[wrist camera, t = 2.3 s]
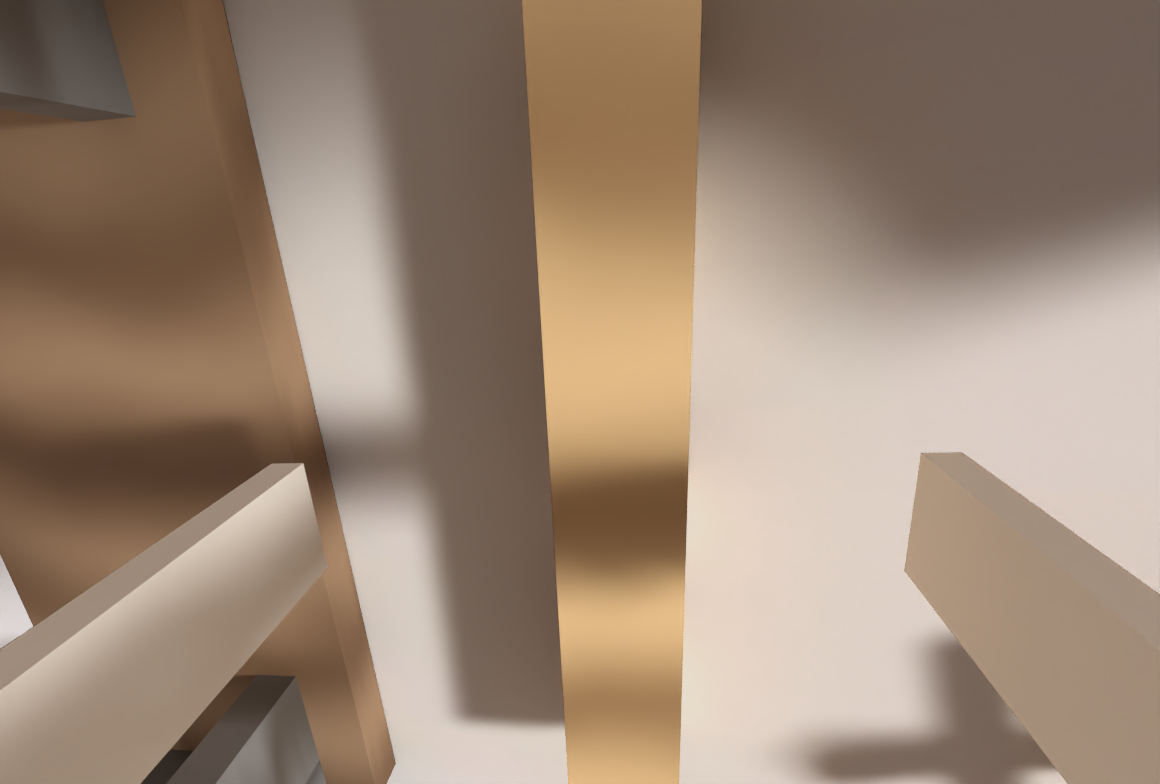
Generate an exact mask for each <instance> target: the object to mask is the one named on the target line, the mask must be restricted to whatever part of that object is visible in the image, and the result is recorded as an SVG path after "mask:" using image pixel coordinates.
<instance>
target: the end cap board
mask: <svg viewBox="0 0 1160 784" xmlns="http://www.w3.org/2000/svg"><path fill="white" fill-rule="evenodd" d="M279 463H303V464H304V468H305V472H306V477H307V481H308V485H309V489H310V494H311V498H312V502H313V506H314V511H315V515H316V519H317V523H318V528H319V532H320V536H321V540H322V545H323V549H324V553H325V557H326V562H327V566H328V568H327V569H326V570H325V571H324V573H323V574H322V575H321V576H320V577H319V578H318V579H317V581H316V582H315V583H314V584H313V585H312V586H311V588H310V589H309V590H308V591H307V592H306V593H305V594H304V596H303V597H302V598H301V599H300V600H299V601H298V603H297V604H296V605H295V606H294V607H293V608H292V609H291V611H290V612H289V613H288V614H287V615H286V616H285V618H284V619H283V620H282V621H281V622H280V623H279V624H278V626H277V627H276V628H275V629H274V630H273V631H272V633H271V634H270V635H269V636H268V637H267V638H266V639H265V641H264V642H263V643H262V644H261V645H260V646H259V648H258V649H257V650H256V651H255V652H254V653H253V654H252V656H251V657H250V658H249V659H248V660H247V661H246V663H245V664H244V665H243V666H242V667H241V668H240V669H239V671H238V672H237V673H236V674H235V675H234V676H233V678H232V679H231V680H230V681H229V682H228V683H227V684H226V686H225V687H224V688H223V689H222V690H221V691H220V692H219V694H218V695H217V696H216V697H215V698H214V699H213V701H212V702H211V703H210V704H209V705H208V706H207V707H206V709H205V710H204V711H203V712H202V713H201V714H200V716H199V717H198V718H197V719H196V720H195V721H194V722H193V724H192V725H191V726H190V727H189V728H188V729H187V731H186V732H185V733H184V734H183V735H182V736H181V737H180V739H179V740H178V741H177V742H176V743H175V744H174V746H173V747H172V748H171V749H170V750H169V751H168V752H167V754H166V755H165V756H164V757H163V758H162V759H161V761H160V762H159V763H158V764H157V765H156V766H155V767H154V769H153V770H152V771H151V772H150V773H149V774H148V776H147V777H146V778H145V779H144V780H143V781H142V782H141V784H387V781H388V779H389V777H390V775H391V773H392V770H393V768H394V766H395V764H396V763H395V759H394V754H393V750H392V745H391V741H390V737H389V732H388V728H387V723H386V719H385V715H384V710H383V706H382V701H381V697H380V693H379V688H378V684H377V679H376V675H375V671H374V666H373V662H372V657H371V653H370V649H369V644H368V640H367V635H366V631H365V627H364V622H363V618H362V613H361V609H360V605H359V600H358V596H357V591H356V587H355V583H354V578H353V574H352V569H351V565H350V561H349V556H348V552H347V547H346V543H345V539H344V534H343V530H342V525H341V521H340V517H339V512H338V508H337V503H336V499H335V495H334V490H333V486H332V481H331V477H330V473H329V468H328V464H327V459H326V455H325V451H324V446H323V442H322V437H321V433H320V429H319V424H318V420H317V415H316V411H315V407H314V402H313V398H312V393H311V389H310V385H309V380H308V376H307V371H306V367H305V363H304V358H303V354H302V349H301V345H300V341H299V336H298V332H297V327H296V323H295V319H294V314H293V310H292V305H291V301H290V297H289V292H288V288H287V283H286V279H285V275H284V270H283V266H282V261H281V257H280V253H279V248H278V244H277V239H276V235H275V231H274V226H273V222H272V217H271V213H270V209H269V204H268V200H267V195H266V191H265V187H264V182H263V178H262V173H261V169H260V165H259V160H258V156H257V151H256V147H255V143H254V138H253V134H252V129H251V125H250V121H249V116H248V112H247V107H246V103H245V99H244V94H243V90H242V85H241V81H240V77H239V72H238V68H237V63H236V59H235V55H234V50H233V46H232V41H231V37H230V33H229V28H228V24H227V19H226V15H225V11H224V6H223V2H222V0H0V555H1V557H2V559H3V561H4V563H5V566H6V568H7V570H8V572H9V574H10V576H11V579H12V581H13V583H14V585H15V587H16V589H17V592H18V594H19V596H20V598H21V600H22V602H23V605H24V607H25V609H26V611H27V613H28V615H29V618H30V620H31V622H32V624H33V626H35V625H36V624H38V623H39V622H41V621H42V620H44V619H45V618H47V617H48V616H50V615H51V614H52V613H54V612H55V611H57V610H58V609H60V608H61V607H63V606H65V605H66V604H68V603H69V602H71V601H72V600H73V599H75V598H76V597H78V596H79V595H81V594H82V593H84V592H85V591H87V590H88V589H89V588H91V587H92V586H94V585H95V584H97V583H98V582H100V581H101V580H103V579H104V578H106V577H107V576H108V575H110V574H111V573H113V572H114V571H116V570H117V569H119V568H120V567H122V566H123V565H124V564H126V563H127V562H129V561H130V560H132V559H133V558H135V557H136V556H138V555H139V554H141V553H142V552H143V551H145V550H146V549H148V548H149V547H151V546H152V545H154V544H155V543H157V542H158V541H159V540H161V539H162V538H164V537H165V536H167V535H168V534H170V533H171V532H173V531H174V530H176V529H177V528H178V527H180V526H181V525H183V524H184V523H186V522H187V521H189V520H190V519H192V518H193V517H194V516H196V515H197V514H199V513H200V512H202V511H203V510H205V509H206V508H208V507H209V506H211V505H212V504H213V503H215V502H216V501H218V500H219V499H221V498H222V497H224V496H225V495H227V494H228V493H229V492H231V491H232V490H234V489H235V488H237V487H238V486H240V485H241V484H243V483H244V482H246V481H247V480H248V479H250V478H251V477H253V476H254V475H256V474H257V473H259V472H260V471H262V470H263V469H264V468H266V467H267V466H269V465H270V464H279Z"/></svg>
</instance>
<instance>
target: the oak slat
mask: <svg viewBox="0 0 1160 784" xmlns="http://www.w3.org/2000/svg"><path fill="white" fill-rule="evenodd" d="M522 12H523V29H524V45H525V62H526V79H527V96H528V113H529V129H530V146H531V163H532V180H533V197H534V213H535V230H536V247H537V264H538V281H539V297H540V314H541V331H542V348H543V364H544V381H545V398H546V415H547V432H548V448H549V465H550V482H551V499H552V516H553V532H554V549H555V566H556V583H557V600H558V616H559V633H560V650H561V667H562V684H563V700H564V717H565V734H566V751H567V768H568V784H679V763H680V729H681V695H682V661H683V627H684V593H685V559H686V525H687V491H688V457H689V423H690V389H691V355H692V321H693V287H694V253H695V219H696V185H697V150H698V116H699V82H700V48H701V14H702V0H522Z"/></svg>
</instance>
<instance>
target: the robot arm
mask: <svg viewBox="0 0 1160 784" xmlns="http://www.w3.org/2000/svg"><path fill="white" fill-rule="evenodd" d="M327 568H328V566H327V562H326V557H325V553H324V549H323V545H322V540H321V536H320V532H319V528H318V523H317V519H316V515H315V511H314V506H313V502H312V498H311V494H310V489H309V485H308V481H307V477H306V472H305V468H304V464H303V463H279V464H270V465H269V466H267V467H266V468H264V469H263V470H262V471H260V472H259V473H257V474H256V475H254V476H253V477H251V478H250V479H248V480H247V481H246V482H244V483H243V484H241V485H240V486H238V487H237V488H235V489H234V490H232V491H231V492H229V493H228V494H227V495H225V496H224V497H222V498H221V499H219V500H218V501H216V502H215V503H213V504H212V505H211V506H209V507H208V508H206V509H205V510H203V511H202V512H200V513H199V514H197V515H196V516H194V517H193V518H192V519H190V520H189V521H187V522H186V523H184V524H183V525H181V526H180V527H178V528H177V529H176V530H174V531H173V532H171V533H170V534H168V535H167V536H165V537H164V538H162V539H161V540H159V541H158V542H157V543H155V544H154V545H152V546H151V547H149V548H148V549H146V550H145V551H143V552H142V553H141V554H139V555H138V556H136V557H135V558H133V559H132V560H130V561H129V562H127V563H126V564H124V565H123V566H122V567H120V568H119V569H117V570H116V571H114V572H113V573H111V574H110V575H108V576H107V577H106V578H104V579H103V580H101V581H100V582H98V583H97V584H95V585H94V586H92V587H91V588H89V589H88V590H87V591H85V592H84V593H82V594H81V595H79V596H78V597H76V598H75V599H73V600H72V601H71V602H69V603H68V604H66V605H65V606H63V607H61V608H60V609H58V610H57V611H55V612H54V613H52V614H51V615H50V616H48V617H47V618H45V619H44V620H42V621H41V622H39V623H38V624H36V625H35V626H34V627H32V628H31V629H29V630H28V631H27V632H25V633H24V634H22V635H21V636H19V637H17V638H16V639H15V640H13V641H12V642H10V643H9V644H7V645H6V646H4V647H3V648H1V649H0V784H141V782H142V781H143V780H144V779H145V778H146V777H147V776H148V774H149V773H150V772H151V771H152V770H153V769H154V767H155V766H156V765H157V764H158V763H159V762H160V761H161V759H162V758H163V757H164V756H165V755H166V754H167V752H168V751H169V750H170V749H171V748H172V747H173V746H174V744H175V743H176V742H177V741H178V740H179V739H180V737H181V736H182V735H183V734H184V733H185V732H186V731H187V729H188V728H189V727H190V726H191V725H192V724H193V722H194V721H195V720H196V719H197V718H198V717H199V716H200V714H201V713H202V712H203V711H204V710H205V709H206V707H207V706H208V705H209V704H210V703H211V702H212V701H213V699H214V698H215V697H216V696H217V695H218V694H219V692H220V691H221V690H222V689H223V688H224V687H225V686H226V684H227V683H228V682H229V681H230V680H231V679H232V678H233V676H234V675H235V674H236V673H237V672H238V671H239V669H240V668H241V667H242V666H243V665H244V664H245V663H246V661H247V660H248V659H249V658H250V657H251V656H252V654H253V653H254V652H255V651H256V650H257V649H258V648H259V646H260V645H261V644H262V643H263V642H264V641H265V639H266V638H267V637H268V636H269V635H270V634H271V633H272V631H273V630H274V629H275V628H276V627H277V626H278V624H279V623H280V622H281V621H282V620H283V619H284V618H285V616H286V615H287V614H288V613H289V612H290V611H291V609H292V608H293V607H294V606H295V605H296V604H297V603H298V601H299V600H300V599H301V598H302V597H303V596H304V594H305V593H306V592H307V591H308V590H309V589H310V588H311V586H312V585H313V584H314V583H315V582H316V581H317V579H318V578H319V577H320V576H321V575H322V574H323V573H324V571H325V570H326V569H327ZM904 571H905V572H906V573H907V575H908V576H909V577H910V579H911V580H912V581H913V582H914V584H915V585H916V586H917V588H918V589H919V590H920V592H921V593H922V594H923V596H924V597H925V598H926V599H927V601H928V602H929V603H930V605H931V606H932V607H933V609H934V610H935V611H936V612H937V614H938V615H939V616H940V618H941V619H942V620H943V622H944V623H945V624H946V626H947V627H948V628H949V629H950V631H951V632H952V633H953V635H954V636H955V637H956V639H957V640H958V641H959V643H960V644H961V645H962V646H963V648H964V649H965V650H966V652H967V653H968V654H969V656H970V657H971V658H972V660H973V661H974V662H975V663H976V665H977V666H978V667H979V669H980V670H981V671H982V673H983V674H984V675H985V676H986V678H987V679H988V680H989V682H990V683H991V684H992V686H993V687H994V688H995V690H996V691H997V692H998V693H999V695H1000V696H1001V697H1002V699H1003V700H1004V701H1005V703H1006V704H1007V705H1008V707H1009V708H1010V709H1011V710H1012V712H1013V713H1014V714H1015V716H1016V717H1017V718H1018V720H1019V721H1020V722H1021V723H1022V725H1023V726H1024V727H1025V729H1026V730H1027V731H1028V733H1029V734H1030V735H1031V737H1032V738H1033V739H1034V740H1035V742H1036V743H1037V744H1038V746H1039V747H1040V748H1041V750H1042V751H1043V752H1044V754H1045V755H1046V756H1047V757H1048V759H1049V760H1050V761H1051V763H1052V764H1053V765H1054V767H1055V768H1056V769H1057V771H1058V772H1059V773H1060V774H1061V776H1062V777H1063V778H1064V780H1065V781H1066V782H1067V784H1160V594H1159V593H1157V592H1156V591H1154V590H1153V589H1152V588H1150V587H1149V586H1147V585H1146V584H1145V583H1143V582H1142V581H1141V580H1139V579H1138V578H1136V577H1135V576H1134V575H1132V574H1131V573H1129V572H1128V571H1127V570H1125V569H1124V568H1122V567H1121V566H1120V565H1118V564H1117V563H1115V562H1114V561H1113V560H1111V559H1110V558H1109V557H1107V556H1106V555H1104V554H1103V553H1102V552H1100V551H1099V550H1097V549H1096V548H1095V547H1093V546H1092V545H1090V544H1089V543H1088V542H1086V541H1085V540H1083V539H1082V538H1081V537H1079V536H1078V535H1076V534H1075V533H1074V532H1072V531H1071V530H1070V529H1068V528H1067V527H1065V526H1064V525H1063V524H1061V523H1060V522H1058V521H1057V520H1056V519H1054V518H1053V517H1051V516H1050V515H1049V514H1047V513H1046V512H1044V511H1043V510H1042V509H1040V508H1039V507H1037V506H1036V505H1035V504H1033V503H1032V502H1031V501H1029V500H1028V499H1026V498H1025V497H1024V496H1022V495H1021V494H1019V493H1018V492H1017V491H1015V490H1014V489H1012V488H1011V487H1010V486H1008V485H1007V484H1005V483H1004V482H1003V481H1001V480H1000V479H998V478H997V477H996V476H994V475H993V474H992V473H990V472H989V471H987V470H986V469H985V468H983V467H982V466H980V465H979V464H978V463H976V462H975V461H973V460H972V459H971V458H969V457H968V456H966V455H965V454H964V453H962V452H954V453H921V457H920V464H919V471H918V479H917V486H916V493H915V500H914V507H913V514H912V521H911V528H910V535H909V542H908V549H907V556H906V563H905V570H904Z"/></svg>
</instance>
